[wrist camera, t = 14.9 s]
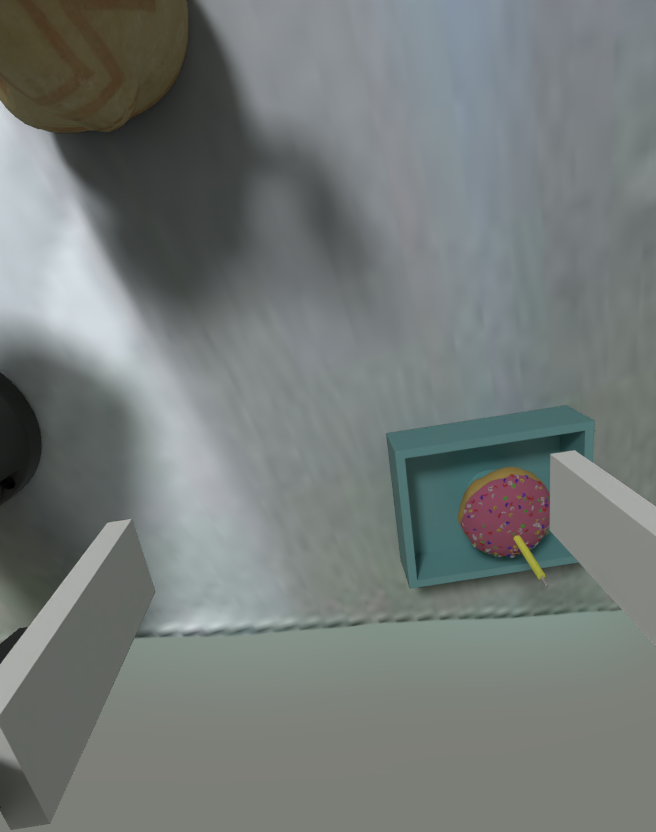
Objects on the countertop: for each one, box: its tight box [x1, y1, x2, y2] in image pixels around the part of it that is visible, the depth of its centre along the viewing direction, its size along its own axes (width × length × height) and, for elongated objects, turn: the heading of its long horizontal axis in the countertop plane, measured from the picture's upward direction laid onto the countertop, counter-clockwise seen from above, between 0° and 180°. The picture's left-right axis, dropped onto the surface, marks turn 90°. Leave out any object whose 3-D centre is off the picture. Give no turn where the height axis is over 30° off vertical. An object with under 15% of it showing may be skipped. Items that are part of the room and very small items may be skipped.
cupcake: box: [458, 467, 550, 587], centre depth 41 cm, size 9×8×12 cm
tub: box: [386, 406, 595, 589], centre depth 45 cm, size 18×15×4 cm
